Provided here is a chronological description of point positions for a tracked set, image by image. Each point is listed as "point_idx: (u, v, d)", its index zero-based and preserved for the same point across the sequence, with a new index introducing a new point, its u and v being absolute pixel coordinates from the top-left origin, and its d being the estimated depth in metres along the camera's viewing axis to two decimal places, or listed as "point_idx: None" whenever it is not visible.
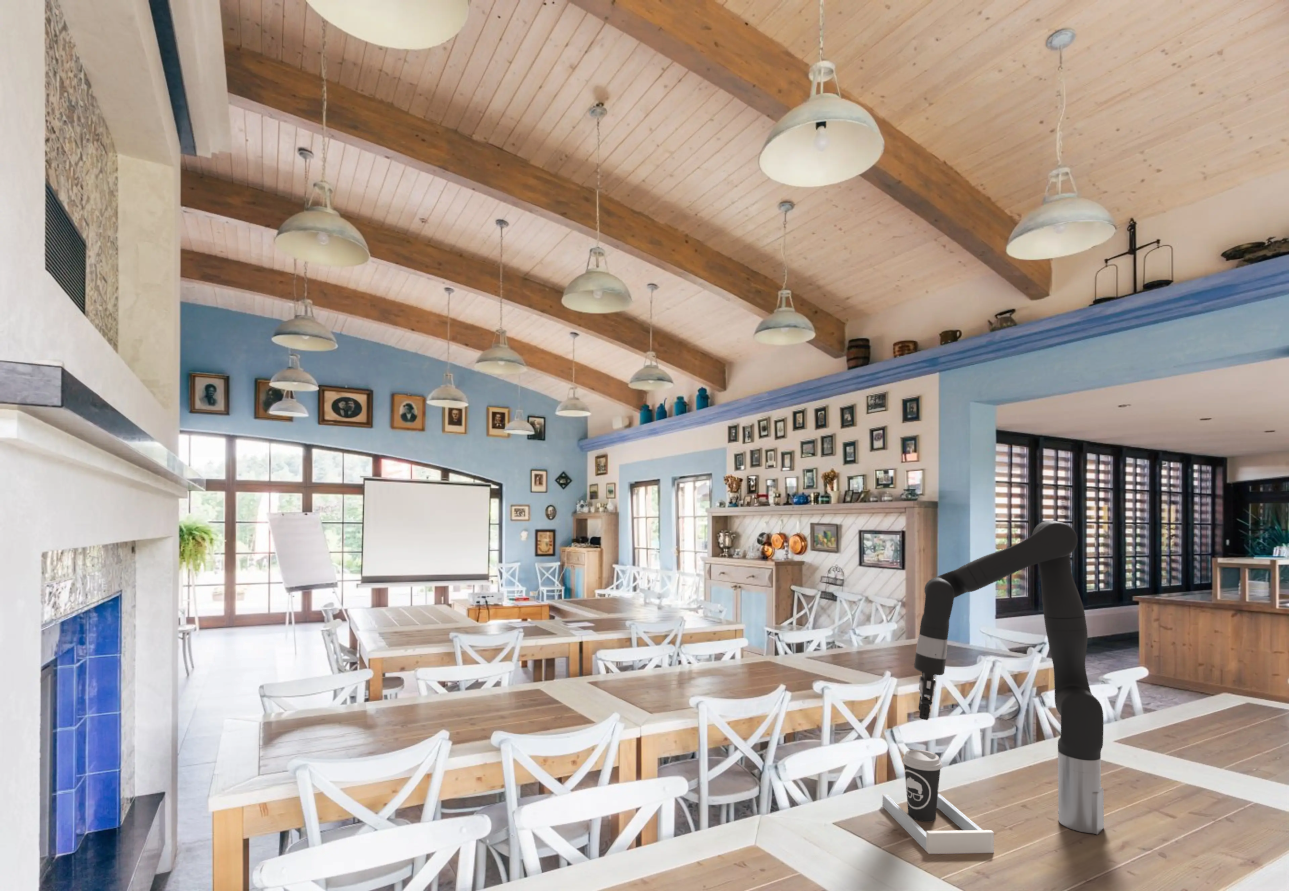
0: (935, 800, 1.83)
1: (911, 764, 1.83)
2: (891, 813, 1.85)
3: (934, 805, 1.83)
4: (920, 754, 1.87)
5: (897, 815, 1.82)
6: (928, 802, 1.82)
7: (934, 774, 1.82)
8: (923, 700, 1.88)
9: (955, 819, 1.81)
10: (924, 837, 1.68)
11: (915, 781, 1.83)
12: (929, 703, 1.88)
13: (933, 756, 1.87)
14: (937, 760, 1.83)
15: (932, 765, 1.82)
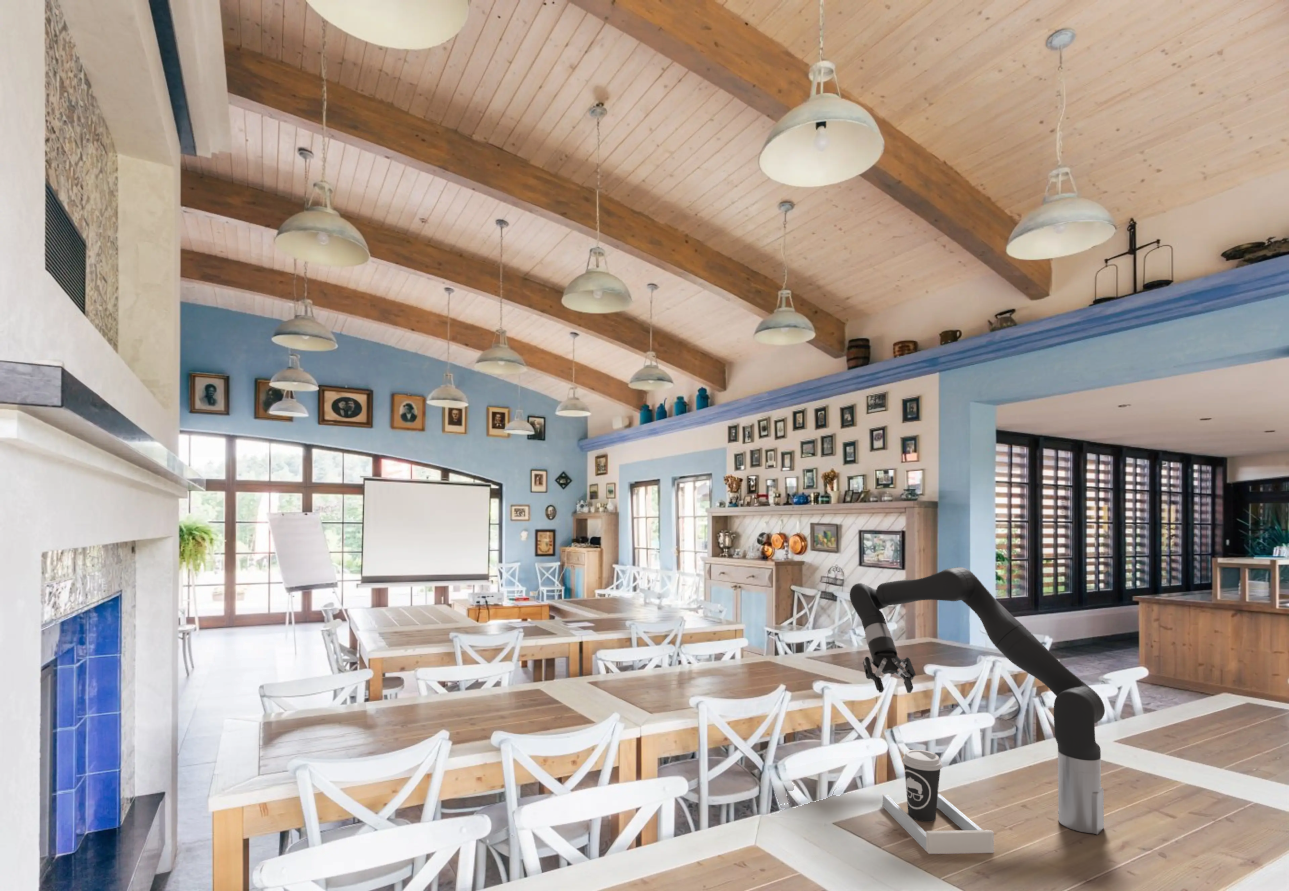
0: (935, 800, 1.83)
1: (911, 764, 1.83)
2: (891, 813, 1.85)
3: (934, 805, 1.83)
4: (920, 754, 1.87)
5: (897, 815, 1.82)
6: (928, 802, 1.82)
7: (934, 774, 1.82)
8: (866, 675, 2.15)
9: (955, 819, 1.81)
10: (924, 837, 1.68)
11: (915, 781, 1.83)
12: (868, 674, 2.13)
13: (933, 756, 1.87)
14: (937, 760, 1.83)
15: (932, 765, 1.82)
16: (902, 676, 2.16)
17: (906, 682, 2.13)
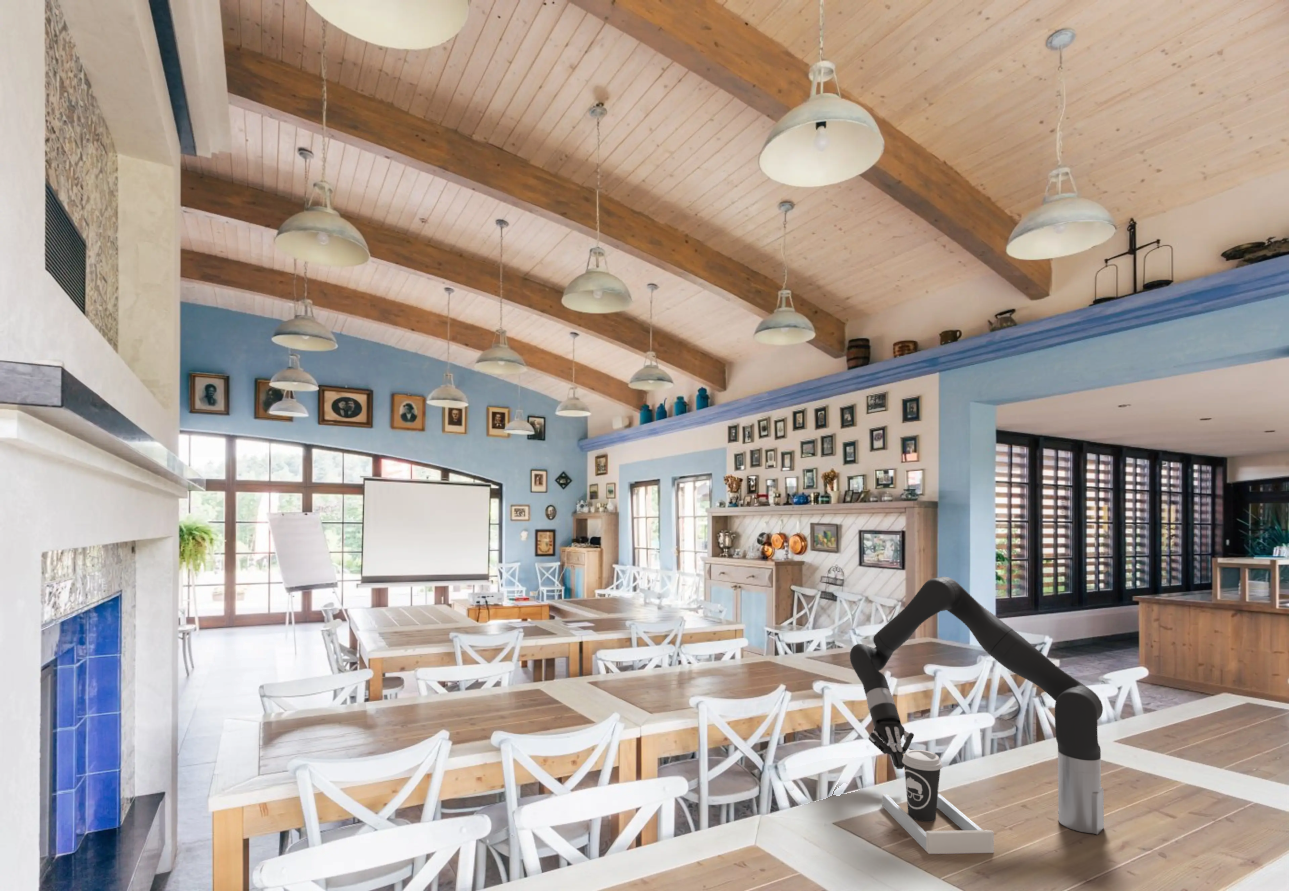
0: (935, 800, 1.83)
1: (911, 764, 1.83)
2: (891, 813, 1.85)
3: (934, 805, 1.83)
4: (920, 754, 1.87)
5: (897, 815, 1.82)
6: (928, 802, 1.82)
7: (934, 774, 1.82)
8: (883, 751, 2.02)
9: (955, 819, 1.81)
10: (924, 837, 1.68)
11: (915, 781, 1.83)
12: (886, 749, 2.01)
13: (933, 756, 1.87)
14: (937, 760, 1.83)
15: (932, 765, 1.82)
16: None
17: None
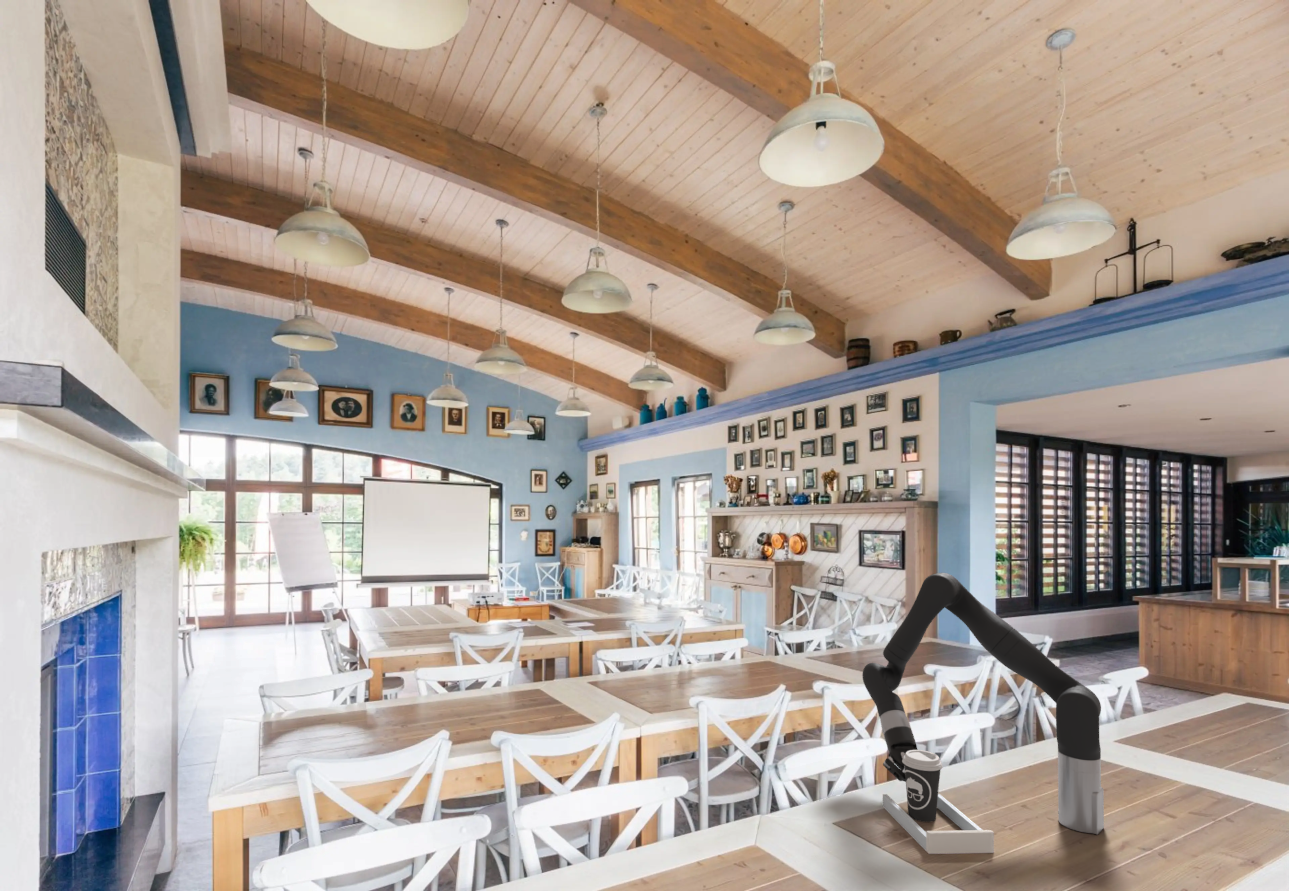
0: (936, 800, 1.83)
1: (911, 764, 1.83)
2: (891, 813, 1.85)
3: (934, 805, 1.82)
4: (920, 754, 1.87)
5: (897, 815, 1.82)
6: (928, 803, 1.82)
7: (934, 774, 1.82)
8: (898, 778, 1.92)
9: (955, 819, 1.81)
10: (924, 837, 1.68)
11: (915, 781, 1.83)
12: (902, 777, 1.91)
13: (933, 756, 1.87)
14: (938, 760, 1.83)
15: (932, 765, 1.82)
16: None
17: None
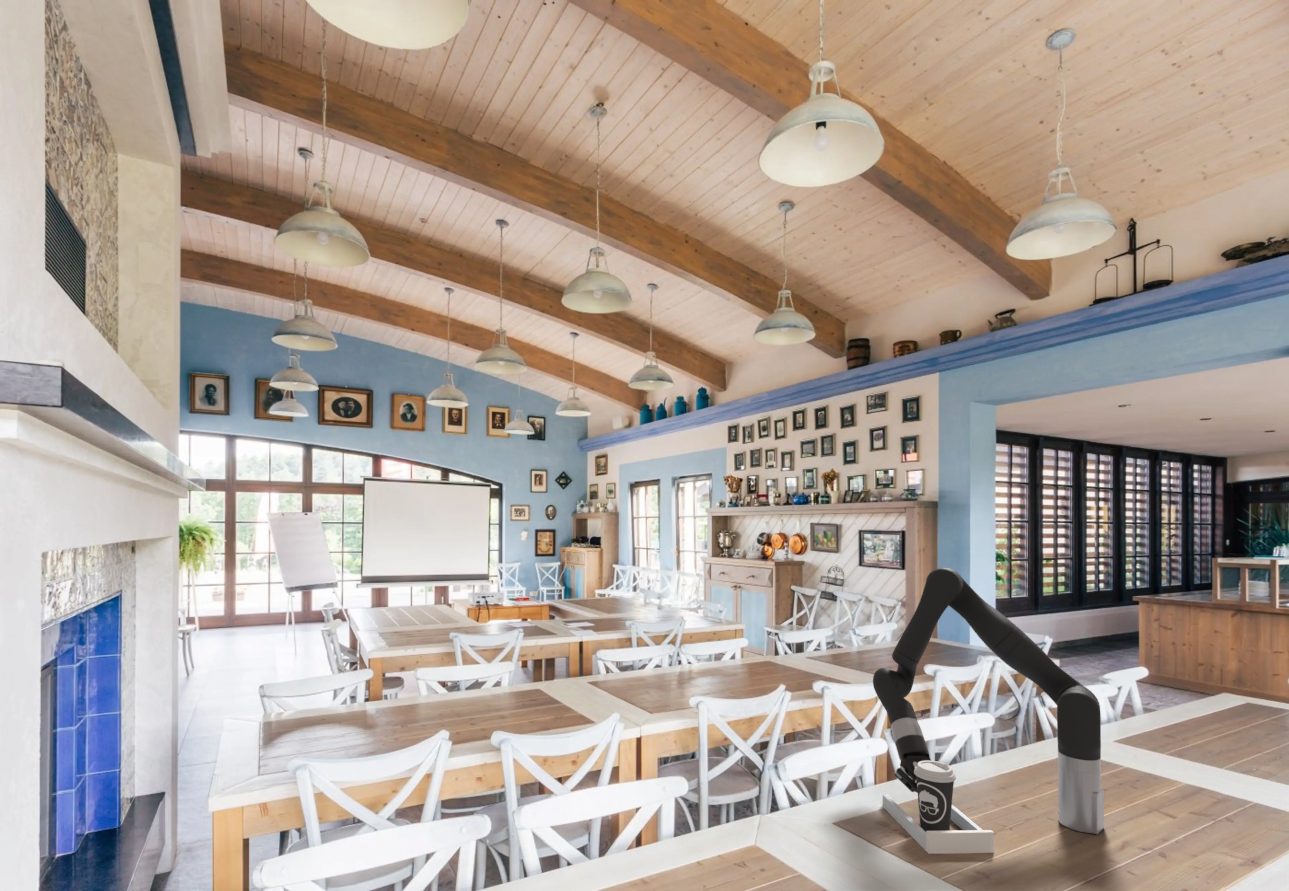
0: (950, 813, 1.76)
1: (926, 777, 1.75)
2: (891, 813, 1.85)
3: (949, 818, 1.75)
4: (932, 765, 1.80)
5: (897, 815, 1.82)
6: (943, 816, 1.75)
7: (949, 786, 1.75)
8: (911, 789, 1.84)
9: (955, 819, 1.81)
10: (924, 837, 1.68)
11: (930, 794, 1.75)
12: (914, 787, 1.83)
13: (945, 766, 1.80)
14: (952, 771, 1.76)
15: (948, 776, 1.75)
16: None
17: None
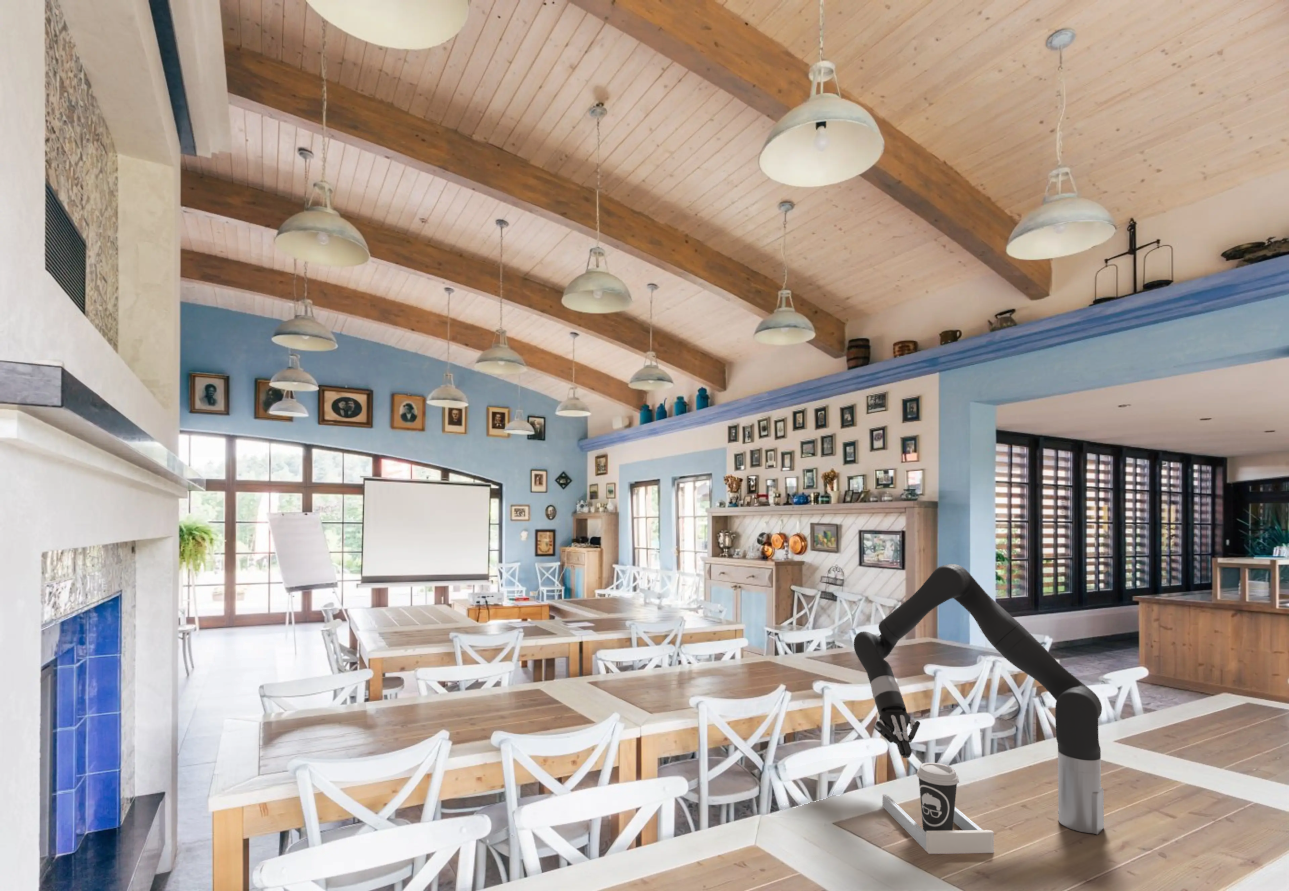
0: (953, 816, 1.74)
1: (929, 779, 1.74)
2: (891, 813, 1.85)
3: (952, 821, 1.74)
4: (935, 767, 1.78)
5: (897, 815, 1.82)
6: (946, 819, 1.73)
7: (952, 789, 1.73)
8: (889, 740, 1.98)
9: (955, 819, 1.81)
10: (924, 837, 1.68)
11: (933, 797, 1.73)
12: (892, 738, 1.97)
13: (948, 769, 1.78)
14: (955, 773, 1.75)
15: (951, 779, 1.73)
16: None
17: None
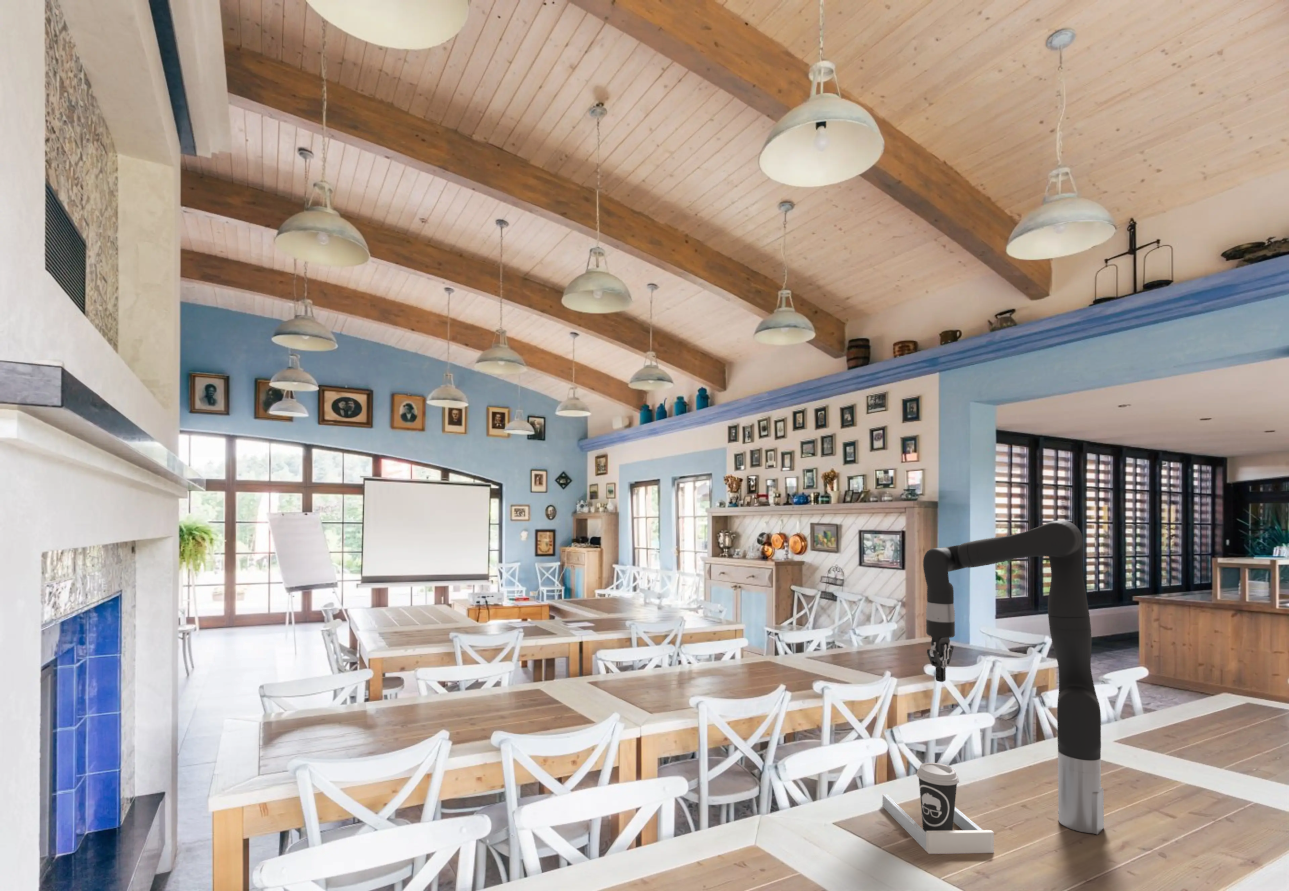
0: (953, 816, 1.74)
1: (929, 779, 1.74)
2: (891, 813, 1.85)
3: (952, 821, 1.74)
4: (935, 767, 1.78)
5: (897, 815, 1.82)
6: (946, 819, 1.73)
7: (952, 789, 1.73)
8: (933, 664, 2.06)
9: (955, 819, 1.81)
10: (924, 837, 1.68)
11: (933, 797, 1.73)
12: (938, 666, 2.05)
13: (948, 769, 1.78)
14: (955, 773, 1.75)
15: (951, 779, 1.73)
16: None
17: None
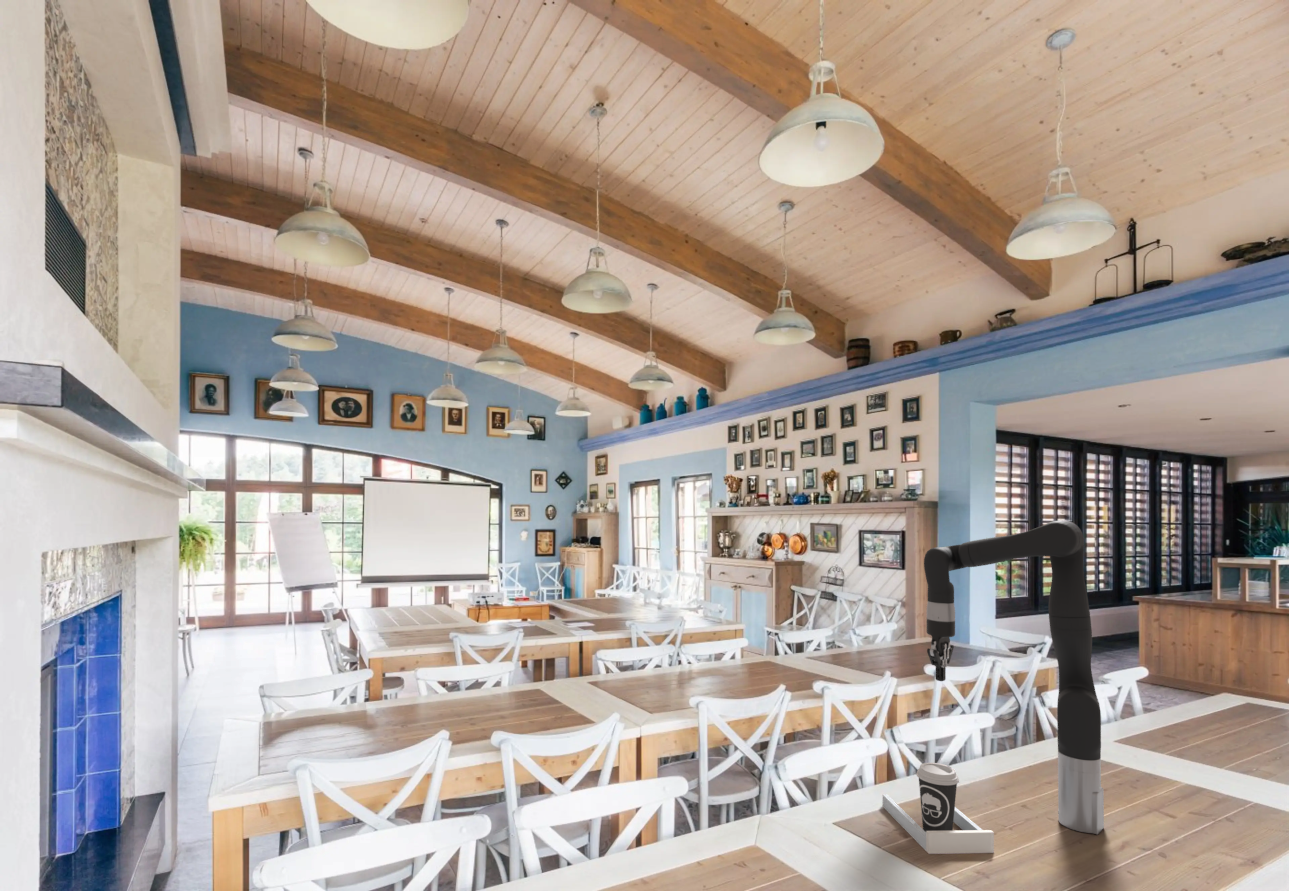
0: (953, 816, 1.74)
1: (929, 779, 1.74)
2: (891, 813, 1.85)
3: (952, 821, 1.74)
4: (935, 767, 1.78)
5: (897, 815, 1.82)
6: (946, 819, 1.73)
7: (952, 789, 1.73)
8: (933, 664, 2.05)
9: (955, 819, 1.81)
10: (924, 837, 1.68)
11: (933, 797, 1.73)
12: (938, 665, 2.05)
13: (948, 769, 1.78)
14: (955, 773, 1.75)
15: (951, 779, 1.73)
16: None
17: None
